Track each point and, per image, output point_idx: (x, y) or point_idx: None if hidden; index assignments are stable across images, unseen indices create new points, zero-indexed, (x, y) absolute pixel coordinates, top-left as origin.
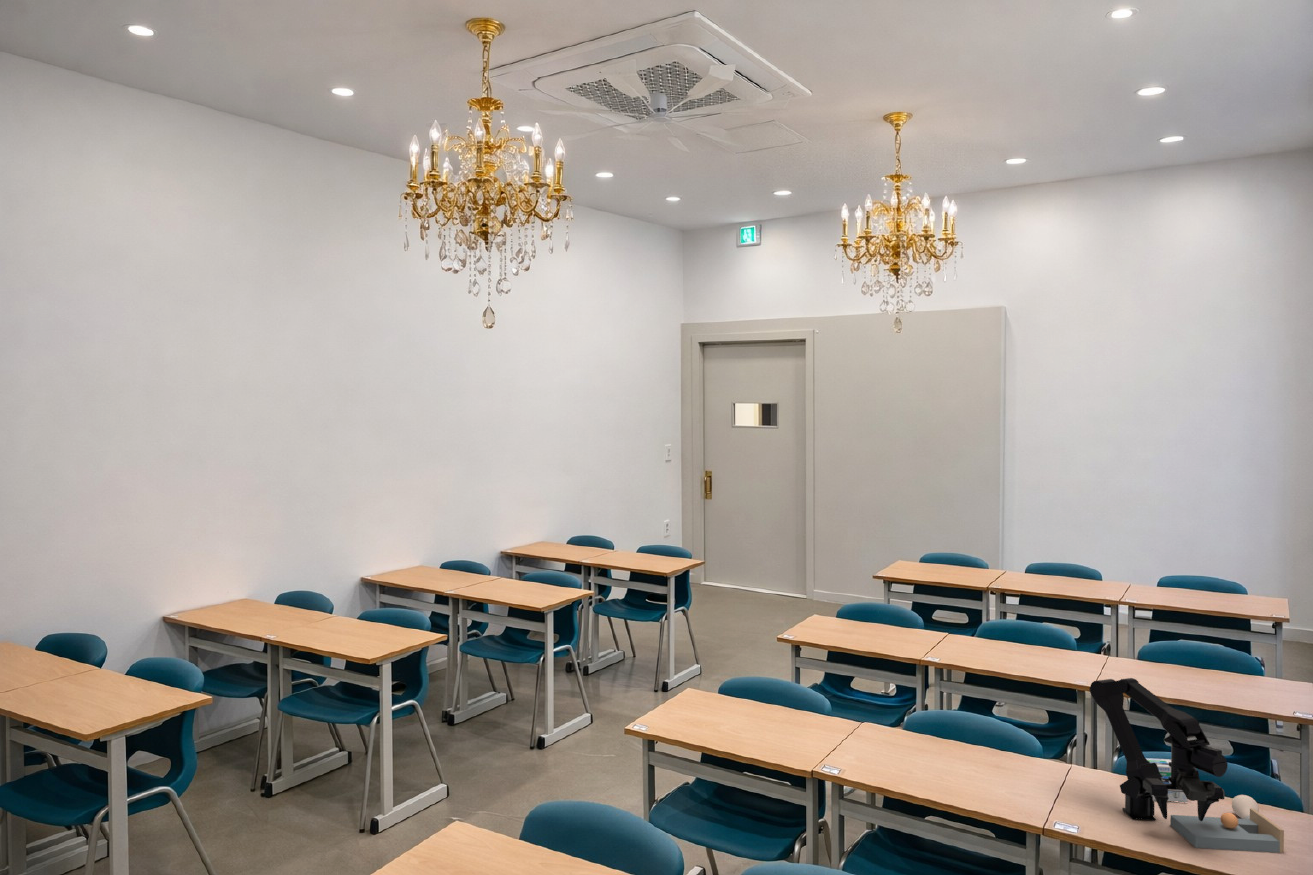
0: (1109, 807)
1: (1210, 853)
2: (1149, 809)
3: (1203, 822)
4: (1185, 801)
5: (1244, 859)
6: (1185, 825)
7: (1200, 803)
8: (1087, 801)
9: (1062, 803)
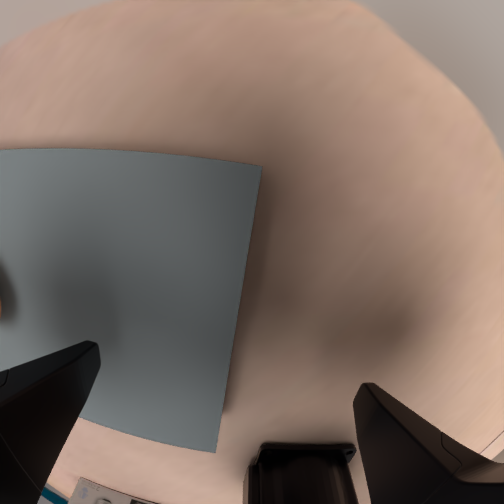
0: None
1: (216, 95)
2: (279, 484)
3: None
4: (84, 482)
5: (83, 52)
6: (211, 351)
7: (30, 449)
8: None
9: None
